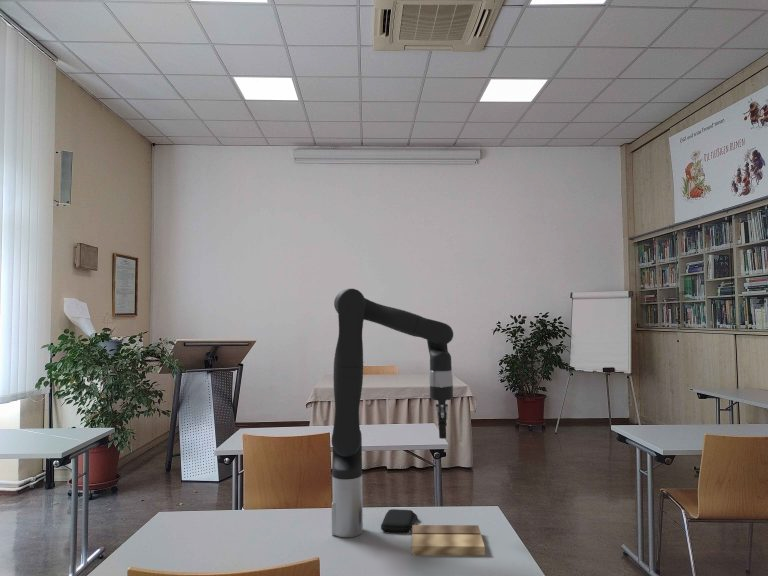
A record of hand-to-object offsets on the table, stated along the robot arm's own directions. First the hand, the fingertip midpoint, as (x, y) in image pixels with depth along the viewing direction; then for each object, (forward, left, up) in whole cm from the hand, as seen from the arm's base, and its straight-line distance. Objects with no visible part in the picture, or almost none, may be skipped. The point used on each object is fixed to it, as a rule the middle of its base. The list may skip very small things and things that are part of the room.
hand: (442, 438), depth 175 cm
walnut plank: (0, -12, -27) cm, 29 cm away
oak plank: (0, -20, -27) cm, 33 cm away
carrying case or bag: (-14, -2, -27) cm, 31 cm away
